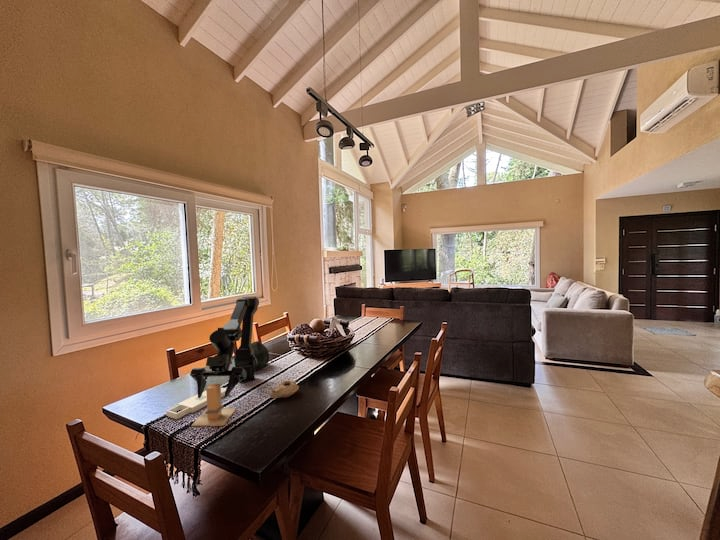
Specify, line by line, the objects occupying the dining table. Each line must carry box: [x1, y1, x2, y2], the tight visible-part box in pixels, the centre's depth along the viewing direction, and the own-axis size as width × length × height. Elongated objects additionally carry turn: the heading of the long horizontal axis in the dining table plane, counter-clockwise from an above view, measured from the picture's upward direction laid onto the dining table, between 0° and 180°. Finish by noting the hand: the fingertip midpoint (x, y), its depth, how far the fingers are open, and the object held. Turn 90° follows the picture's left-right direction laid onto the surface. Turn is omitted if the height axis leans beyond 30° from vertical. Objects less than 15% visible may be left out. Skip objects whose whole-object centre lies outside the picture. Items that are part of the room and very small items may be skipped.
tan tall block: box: [204, 383, 224, 419], centre depth 105 cm, size 4×4×11 cm
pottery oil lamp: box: [268, 380, 300, 399], centre depth 121 cm, size 9×12×7 cm
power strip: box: [165, 387, 227, 420], centre depth 116 cm, size 22×8×3 cm, turn 156°
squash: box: [251, 340, 270, 370], centre depth 153 cm, size 14×15×15 cm
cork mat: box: [190, 407, 237, 428], centre depth 106 cm, size 11×11×1 cm
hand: (212, 397), depth 104 cm, fingers open, 9 cm apart
